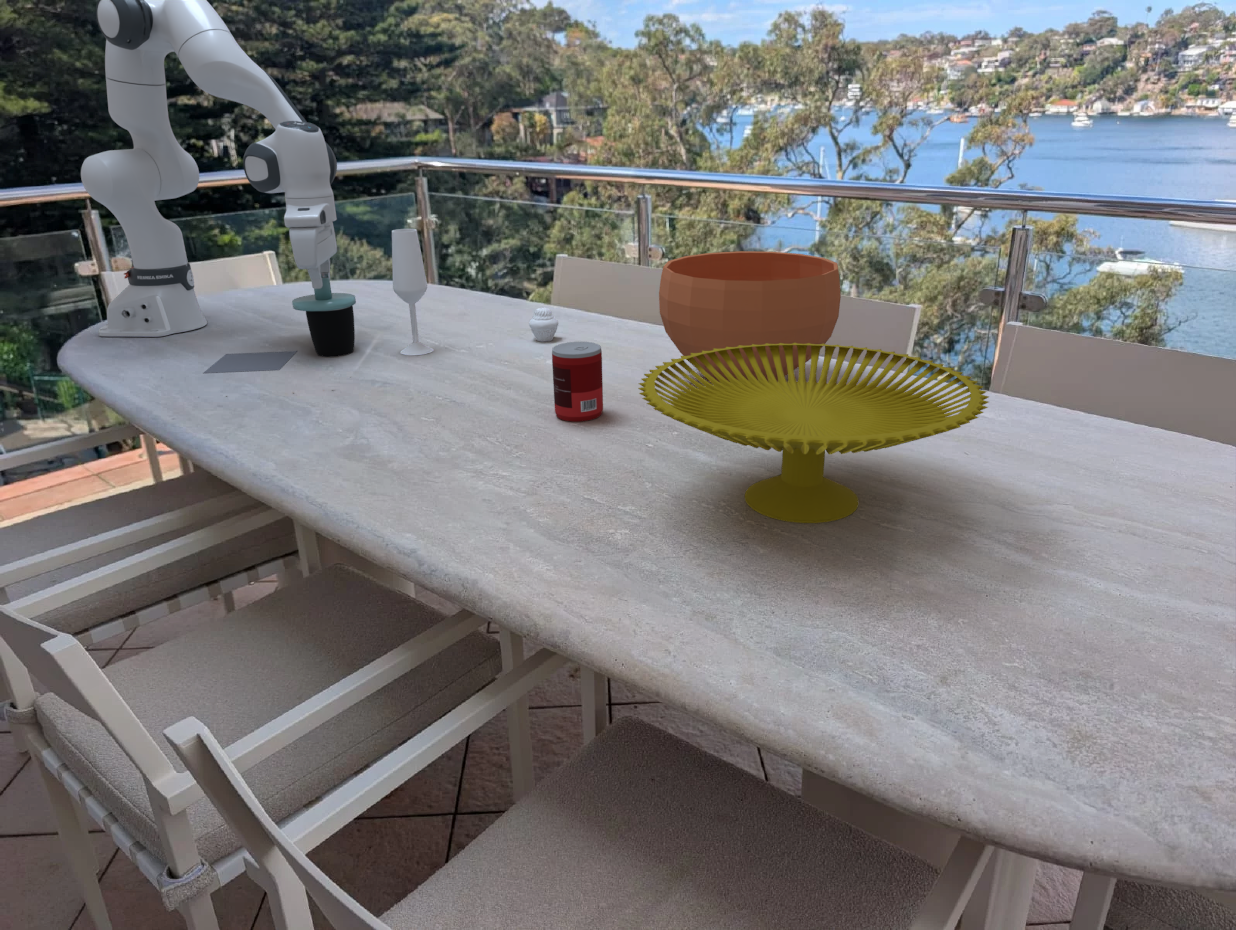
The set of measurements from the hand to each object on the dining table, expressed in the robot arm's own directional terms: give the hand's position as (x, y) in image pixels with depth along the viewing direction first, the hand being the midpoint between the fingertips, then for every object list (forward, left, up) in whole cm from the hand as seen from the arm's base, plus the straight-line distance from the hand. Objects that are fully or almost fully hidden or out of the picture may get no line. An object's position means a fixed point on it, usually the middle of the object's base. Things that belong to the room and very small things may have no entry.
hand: (321, 284), depth 179 cm
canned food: (+48, -45, -14) cm, 67 cm away
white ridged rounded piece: (+43, +5, -14) cm, 46 cm away
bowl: (+78, -32, -14) cm, 86 cm away
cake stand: (+74, -82, -14) cm, 111 cm away
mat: (-14, -6, -14) cm, 21 cm away
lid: (0, 0, -4) cm, 4 cm away
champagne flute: (+17, 0, -14) cm, 22 cm away
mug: (0, 0, -14) cm, 14 cm away
